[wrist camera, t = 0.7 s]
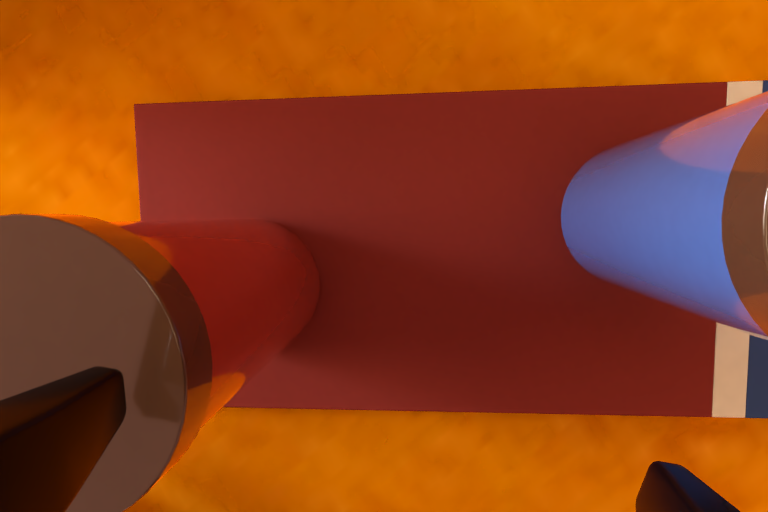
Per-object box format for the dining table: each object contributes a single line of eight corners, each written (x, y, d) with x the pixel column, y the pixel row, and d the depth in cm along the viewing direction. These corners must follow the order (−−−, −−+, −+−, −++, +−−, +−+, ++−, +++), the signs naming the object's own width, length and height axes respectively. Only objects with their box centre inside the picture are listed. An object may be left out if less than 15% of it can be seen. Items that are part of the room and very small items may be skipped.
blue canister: (710, 290, 20) (1181, 414, 8) (554, 290, 21) (753, 406, 8) (717, 135, 20) (1238, -6, 7) (556, 140, 20) (774, 17, 8)
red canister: (326, 353, 22) (194, 541, 9) (191, 352, 23) (-103, 527, 10) (322, 213, 22) (177, 210, 9) (184, 215, 22) (-139, 216, 9)
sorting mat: (991, 419, 20) (1002, 423, 20) (155, 402, 24) (151, 405, 23) (1025, 73, 19) (1038, 70, 19) (138, 105, 22) (133, 104, 22)
